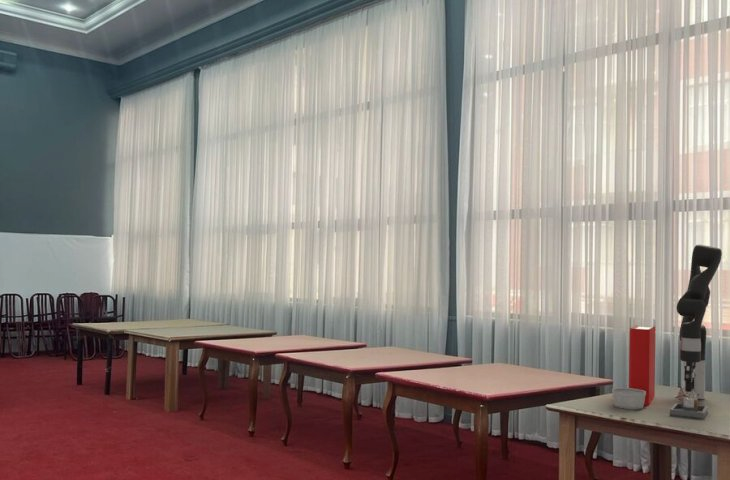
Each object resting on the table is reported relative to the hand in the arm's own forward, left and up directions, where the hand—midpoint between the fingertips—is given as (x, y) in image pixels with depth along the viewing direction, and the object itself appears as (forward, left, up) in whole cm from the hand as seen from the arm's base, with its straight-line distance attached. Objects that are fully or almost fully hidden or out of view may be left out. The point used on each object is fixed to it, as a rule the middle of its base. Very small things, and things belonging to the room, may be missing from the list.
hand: (689, 389), depth 284 cm
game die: (-21, -3, -10) cm, 23 cm away
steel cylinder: (+4, 0, -9) cm, 10 cm away
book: (-20, -21, -10) cm, 31 cm away
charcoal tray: (0, 0, -10) cm, 10 cm away
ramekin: (0, -23, -10) cm, 25 cm away
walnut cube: (-3, 0, -9) cm, 9 cm away
